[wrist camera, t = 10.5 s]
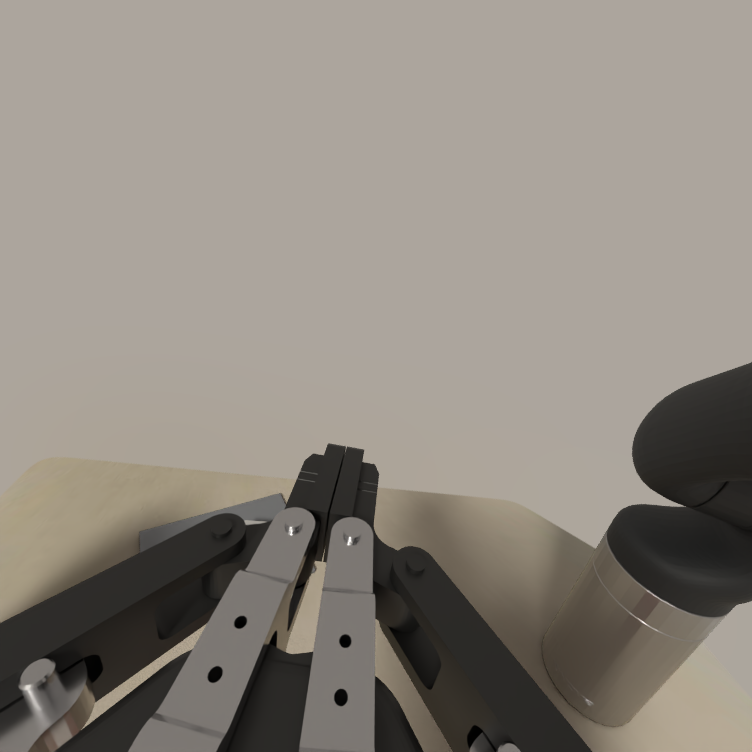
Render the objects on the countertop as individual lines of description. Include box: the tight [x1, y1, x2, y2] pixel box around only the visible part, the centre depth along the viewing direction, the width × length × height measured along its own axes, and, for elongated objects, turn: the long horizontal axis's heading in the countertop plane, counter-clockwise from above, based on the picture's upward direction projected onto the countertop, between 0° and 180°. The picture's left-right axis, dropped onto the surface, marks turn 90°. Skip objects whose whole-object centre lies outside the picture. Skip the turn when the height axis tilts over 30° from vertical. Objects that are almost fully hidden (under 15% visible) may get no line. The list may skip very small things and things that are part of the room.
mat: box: [140, 493, 315, 573], centre depth 44 cm, size 18×14×1 cm
